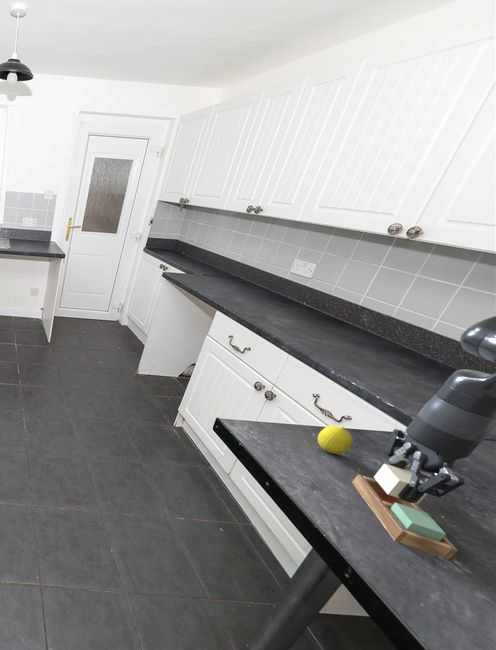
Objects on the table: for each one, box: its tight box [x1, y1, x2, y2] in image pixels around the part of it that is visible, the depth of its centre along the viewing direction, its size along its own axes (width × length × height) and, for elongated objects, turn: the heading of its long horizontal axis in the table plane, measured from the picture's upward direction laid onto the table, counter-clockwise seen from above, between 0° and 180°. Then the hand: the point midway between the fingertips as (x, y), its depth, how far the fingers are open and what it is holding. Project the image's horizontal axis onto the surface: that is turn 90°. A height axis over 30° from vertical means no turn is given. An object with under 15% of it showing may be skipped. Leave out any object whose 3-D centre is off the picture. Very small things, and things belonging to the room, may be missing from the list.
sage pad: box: [389, 503, 447, 541], centre depth 63 cm, size 5×5×4 cm
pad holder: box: [351, 473, 459, 561], centre depth 66 cm, size 7×14×3 cm, turn 157°
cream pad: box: [373, 463, 428, 505], centre depth 67 cm, size 5×5×4 cm
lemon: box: [317, 425, 354, 455], centre depth 81 cm, size 6×6×8 cm
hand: (396, 489), depth 67 cm, fingers closed on cream pad, 4 cm apart
